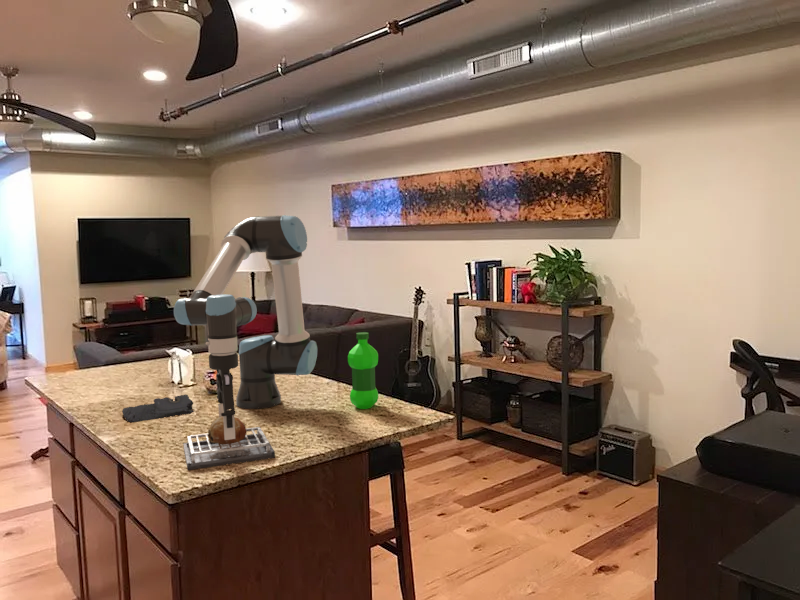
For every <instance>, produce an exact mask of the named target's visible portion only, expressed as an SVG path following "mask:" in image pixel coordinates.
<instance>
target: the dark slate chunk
mask: <svg viewBox="0 0 800 600" xmlns="http://www.w3.org/2000/svg"><path fill="white" fill-rule="evenodd" d="M153 402H154V403H149V404H148V403H147V404H139V405H135V406H128V407H123V408H122V415H123V417H124V419H125V420H126V422H129V423H137V422H138V423H139V422H143V421H144V422H145V421H150V420H151V421H152V420H158V419H159V418H160V419H164V417H166V418H171V417H170V416H172V417H176V416H175V415H178V416H183V415H182V414H185V415H190V414H192V413H195V411H194V410H193V405H194V401H193V400H192V399H191V398H190V397H189V395H188V394H182V395H181V394H179V395H176V396H174V399H173V398H171V397H170V398H169V397H163V398H158V397H157V398H154V399H153Z"/></svg>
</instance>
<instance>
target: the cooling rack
mask: <svg viewBox="0 0 800 600" xmlns="http://www.w3.org/2000/svg"><path fill="white" fill-rule="evenodd" d="M246 431H247V432H252V433H251V434H246V436H245V438H244V439H243V440H241V441H239V442H236V443H232V444H225V445H221V444H218V443H212V442H209V441H208V439H209V438H208V432H207V433H201V434H191V435H187V437H186V438H187V442H183V445H182V446H183V451H184V452H183V453H184V458H185V464H186V468H187V471H191V470H199V469H198V468H200V469H205V468H212V467H213V466H214V467H218V466H219V467H220V466H227V465H226V464H228V465H233V464H232V463H235V464H241V463H240V462H242V463H246V461H247V463H248V461H249V462H254V461H255V460H256V461H262V460H261V459H263V460H269V459H268V458H270V459H275V458H276V452H275V450H274V448H273V447H272V444H270V442H269V439H267V438H268V437H266V435H265V433H264V432H263V430H262V428H261V427H260V426H256V427H248V428H246ZM255 431H256V432H255ZM199 438H206V439H205V440H199ZM192 439H196V441H192ZM214 467H213V468H214Z"/></svg>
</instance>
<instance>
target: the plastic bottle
mask: <svg viewBox="0 0 800 600" xmlns="http://www.w3.org/2000/svg"><path fill="white" fill-rule="evenodd" d="M355 334H356V337H355V338H356V340H357V343H356V345H354V346H353V347H352V348H351V350H349V352H348V355H347V363H348V366H349V367H350V368H351V378H352V381H351V382H352V388H351V391H350V394H349V400H350V402H351V404H352V405H353V406H355V407H356V408H357V409H360V410H365V409H366V410H369V409H371V408H373V407H374V406H375V405H376V403H377V402H378V401H379V392H378V389H377V388H376V366H378V364H379V363H378V362H379V353H378V350H376V349H375V348H374V347H373V345H370V343H368V340H369V339H370V336H369V334H370V333H369V332H366V331H363V332H356V333H355Z"/></svg>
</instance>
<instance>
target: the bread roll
mask: <svg viewBox="0 0 800 600" xmlns="http://www.w3.org/2000/svg"><path fill="white" fill-rule="evenodd" d="M234 420H235V439H230V440H225V439H224V420H223V417H219V416H218V418H216V419H214V420H213V421H212V422H211V423H210V426H209V427H208V432H207V433H208V441H209V442H212V443H218V444H221V445H225V444H232V443H236V442H239V441H241V440H243V439H244V438H245V436H246V435H247V432H248V431H246V429H247V428H246V425H245V423H243V422H242V420H240V418H237V417H235V416H234Z"/></svg>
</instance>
